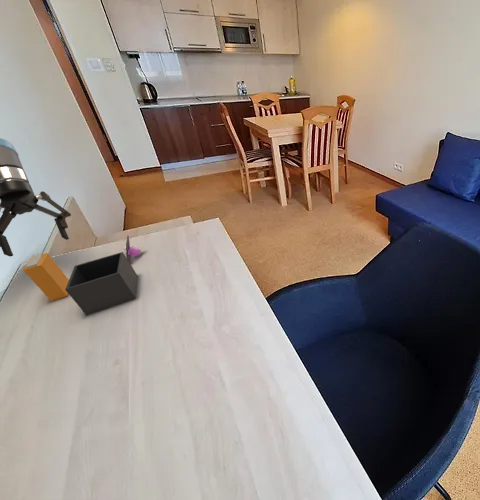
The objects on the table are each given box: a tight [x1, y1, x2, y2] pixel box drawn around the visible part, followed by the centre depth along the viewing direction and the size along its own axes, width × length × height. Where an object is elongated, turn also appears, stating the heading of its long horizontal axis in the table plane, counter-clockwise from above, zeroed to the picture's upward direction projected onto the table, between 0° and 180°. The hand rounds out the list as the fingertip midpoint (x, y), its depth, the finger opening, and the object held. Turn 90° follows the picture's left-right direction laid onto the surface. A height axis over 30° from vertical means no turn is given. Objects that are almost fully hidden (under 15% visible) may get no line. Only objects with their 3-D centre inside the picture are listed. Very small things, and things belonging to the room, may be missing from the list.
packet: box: [23, 252, 70, 302], centre depth 90 cm, size 4×7×13 cm, turn 28°
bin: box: [65, 251, 138, 316], centre depth 88 cm, size 12×12×10 cm
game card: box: [123, 235, 144, 262], centre depth 106 cm, size 7×5×9 cm
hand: (38, 246), depth 91 cm, fingers open, 13 cm apart
